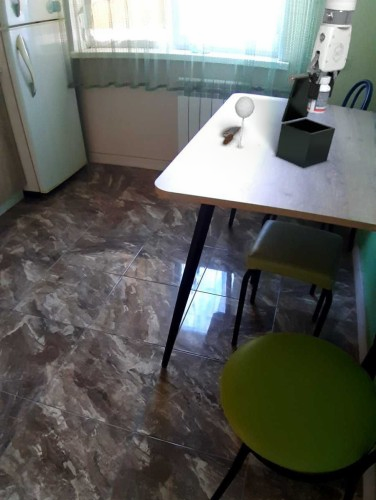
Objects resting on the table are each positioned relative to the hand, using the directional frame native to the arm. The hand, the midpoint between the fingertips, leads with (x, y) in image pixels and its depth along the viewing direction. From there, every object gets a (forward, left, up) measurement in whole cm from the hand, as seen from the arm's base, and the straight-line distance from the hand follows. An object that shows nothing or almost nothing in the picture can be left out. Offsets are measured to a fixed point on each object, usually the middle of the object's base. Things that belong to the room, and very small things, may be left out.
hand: (319, 96), depth 118 cm
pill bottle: (0, 0, -4) cm, 4 cm away
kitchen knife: (+30, +5, -18) cm, 36 cm away
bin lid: (+6, 0, -2) cm, 6 cm away
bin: (+1, 0, -18) cm, 18 cm away
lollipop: (+19, +10, -18) cm, 28 cm away
